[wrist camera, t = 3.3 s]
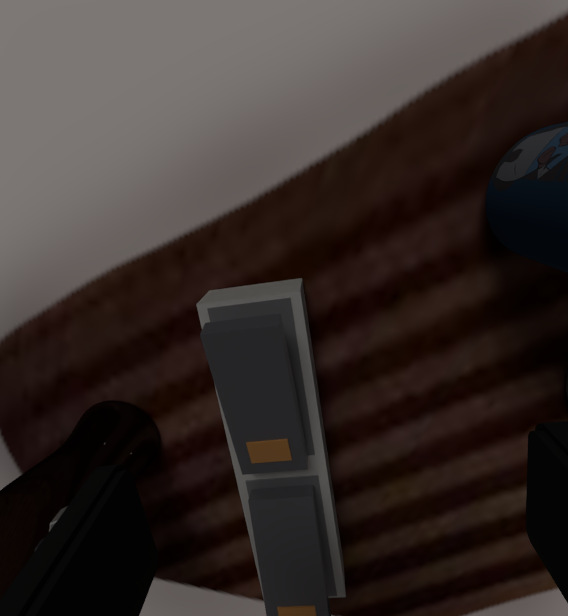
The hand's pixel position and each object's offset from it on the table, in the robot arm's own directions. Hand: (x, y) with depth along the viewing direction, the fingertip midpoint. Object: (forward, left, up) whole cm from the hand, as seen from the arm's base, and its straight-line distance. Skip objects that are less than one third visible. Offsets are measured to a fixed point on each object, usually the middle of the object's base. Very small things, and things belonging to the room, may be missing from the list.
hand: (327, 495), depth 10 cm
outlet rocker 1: (+4, +4, -12) cm, 13 cm away
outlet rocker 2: (+4, +16, -12) cm, 21 cm away
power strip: (+4, +10, -17) cm, 20 cm away
